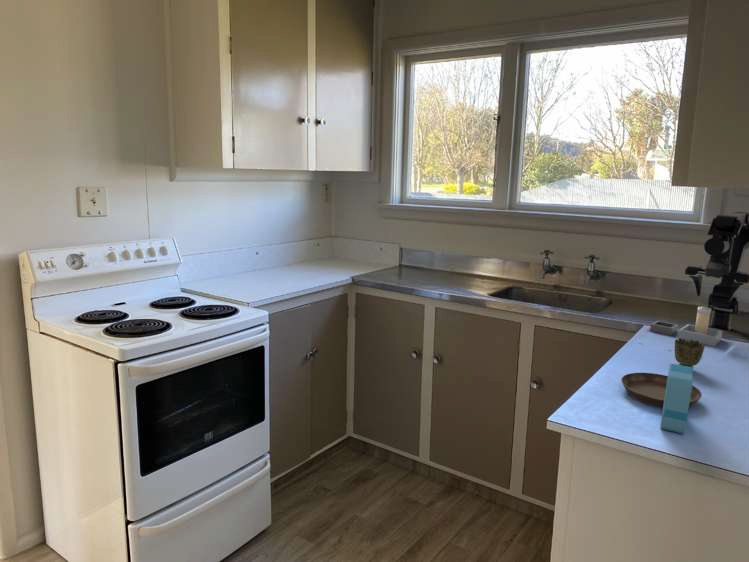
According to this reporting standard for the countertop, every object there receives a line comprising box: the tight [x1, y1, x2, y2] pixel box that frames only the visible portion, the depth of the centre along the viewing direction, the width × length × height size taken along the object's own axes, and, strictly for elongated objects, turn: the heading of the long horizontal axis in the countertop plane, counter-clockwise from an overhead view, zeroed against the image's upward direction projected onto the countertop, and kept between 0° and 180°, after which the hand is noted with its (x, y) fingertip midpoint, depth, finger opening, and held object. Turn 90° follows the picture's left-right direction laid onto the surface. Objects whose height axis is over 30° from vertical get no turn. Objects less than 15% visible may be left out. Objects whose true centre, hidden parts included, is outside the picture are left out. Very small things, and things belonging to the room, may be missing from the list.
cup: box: [674, 338, 706, 369], centre depth 159 cm, size 8×7×8 cm
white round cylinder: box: [694, 306, 712, 335], centre depth 185 cm, size 4×4×11 cm
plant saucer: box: [620, 372, 703, 408], centre depth 139 cm, size 18×18×3 cm
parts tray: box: [677, 323, 724, 347], centre depth 186 cm, size 10×10×4 cm
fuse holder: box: [645, 320, 679, 338], centre depth 193 cm, size 9×9×4 cm
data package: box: [660, 363, 694, 435], centre depth 123 cm, size 12×4×12 cm, turn 151°
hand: (713, 298), depth 192 cm, fingers open, 9 cm apart
